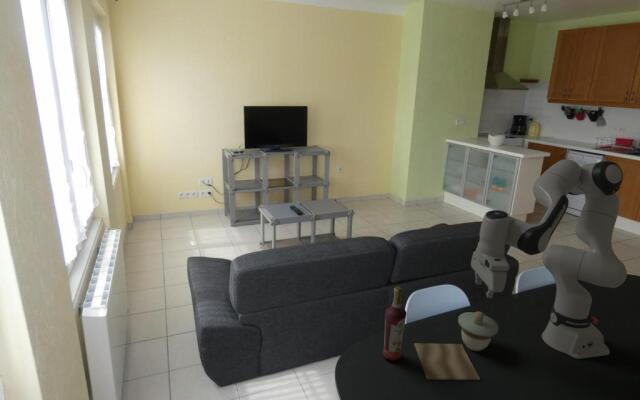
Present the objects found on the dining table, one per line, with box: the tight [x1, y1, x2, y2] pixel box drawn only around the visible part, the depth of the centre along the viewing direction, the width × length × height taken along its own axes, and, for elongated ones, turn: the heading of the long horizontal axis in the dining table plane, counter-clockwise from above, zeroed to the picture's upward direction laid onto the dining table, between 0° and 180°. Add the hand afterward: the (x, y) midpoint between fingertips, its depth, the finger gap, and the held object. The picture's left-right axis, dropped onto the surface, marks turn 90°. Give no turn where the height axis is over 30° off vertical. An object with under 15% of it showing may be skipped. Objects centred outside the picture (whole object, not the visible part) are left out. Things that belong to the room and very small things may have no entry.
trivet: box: [414, 342, 481, 381], centre depth 137 cm, size 18×18×1 cm
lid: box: [457, 311, 499, 337], centre depth 143 cm, size 14×14×5 cm
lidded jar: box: [460, 327, 492, 352], centre depth 145 cm, size 11×11×9 cm
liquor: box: [381, 286, 407, 362], centre depth 135 cm, size 7×7×28 cm
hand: (483, 290), depth 139 cm, fingers open, 8 cm apart
